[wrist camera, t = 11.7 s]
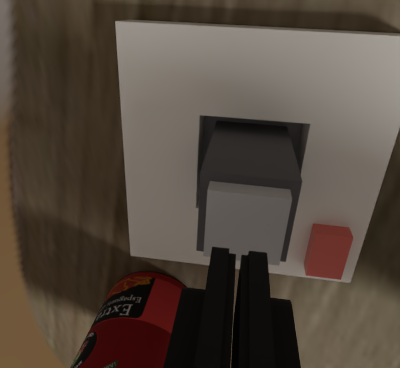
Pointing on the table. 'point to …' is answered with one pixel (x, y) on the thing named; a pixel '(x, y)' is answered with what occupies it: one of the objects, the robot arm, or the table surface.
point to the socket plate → (257, 114)
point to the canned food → (132, 324)
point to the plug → (248, 191)
